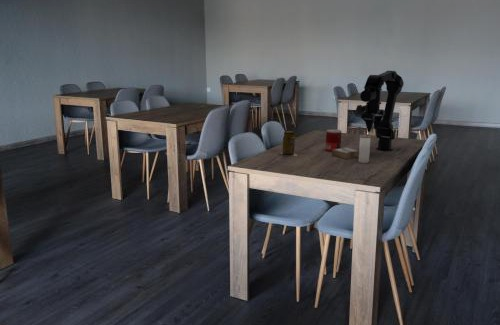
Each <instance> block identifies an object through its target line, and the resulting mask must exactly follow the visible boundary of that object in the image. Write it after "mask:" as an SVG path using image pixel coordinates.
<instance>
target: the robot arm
mask: <svg viewBox="0 0 500 325" xmlns="http://www.w3.org/2000/svg"><path fill="white" fill-rule="evenodd" d="M384 85H386V91H387V98H386V100H385V101H386V102H385V104H384V105H385V106H384V108H383V109H380V105H382V101H381V92H382V91H383V86H384ZM403 87H404V80H403V78H402V76H401V75H399V74H398V73H397V71H396V70H386V71H384V72H382V73H379V74H369V76H368V77H367V78H366V81H365V84H364V87H363V89H364V90H362V92H361V93H360V94H359V96H360V101H361V102H365V103H366V104H365V105H361V104H359V105H357V106H356V107H355V111H356V112H357V114H360V119H362V121H364V123H365V125H366V131H367V133H370V132H371V131H372V128H373V129H374V130H375V136H376V139H378V142H377V147H376V149H377V150H380V151H393V150H394V149H393V148H392V140H395V137H396V133H395V131H394V125H393V122H392V120H393V115H394V111H395V106H396V102H397V98H398V95H399V94H400V93H401V92H402V89H403Z"/></svg>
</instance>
